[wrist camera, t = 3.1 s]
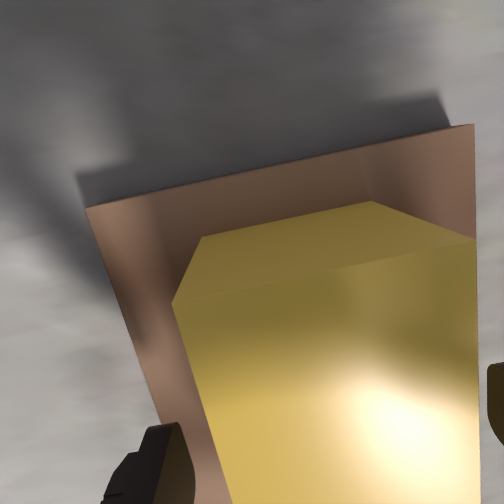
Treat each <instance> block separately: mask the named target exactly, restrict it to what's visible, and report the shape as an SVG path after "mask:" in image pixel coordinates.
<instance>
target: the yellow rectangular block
mask: <svg viewBox="0 0 504 504" xmlns="http://www.w3.org/2000/svg"><path fill="white" fill-rule="evenodd" d="M171 304H172V307H173V310H174V314H175V317H176V320H177V323H178V327H179V330H180V333H181V336H182V340H183V343H184V346H185V349H186V353H187V356H188V359H189V362H190V366H191V369H192V372H193V376H194V379H195V382H196V385H197V389H198V392H199V395H200V398H201V402H202V405H203V408H204V411H205V415H206V418H207V421H208V424H209V428H210V431H211V434H212V437H213V441H214V444H215V447H216V450H217V454H218V457H219V460H220V463H221V467H222V470H223V473H224V476H225V480H226V483H227V486H228V489H229V493H230V496H231V499H232V503H233V504H481V494H480V438H479V381H478V324H477V268H476V240H475V239H472V238H470V237H467V236H464V235H462V234H459V233H456V232H453V231H451V230H448V229H445V228H443V227H440V226H437V225H435V224H432V223H429V222H427V221H424V220H421V219H419V218H416V217H413V216H411V215H408V214H405V213H403V212H400V211H397V210H395V209H392V208H389V207H387V206H384V205H381V204H378V203H376V202H373V201H368V202H363V203H358V204H354V205H349V206H344V207H340V208H335V209H330V210H326V211H321V212H316V213H312V214H307V215H302V216H298V217H293V218H288V219H283V220H279V221H274V222H269V223H265V224H260V225H255V226H251V227H246V228H241V229H237V230H232V231H227V232H223V233H218V234H213V235H209V236H204V237H201V240H200V242H199V244H198V246H197V248H196V251H195V253H194V255H193V257H192V259H191V262H190V264H189V266H188V268H187V270H186V272H185V275H184V277H183V279H182V281H181V283H180V286H179V288H178V290H177V292H176V294H175V297H174V299H173V301H172V303H171Z"/></svg>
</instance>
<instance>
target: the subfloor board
mask: <svg viewBox="0 0 504 504" xmlns="http://www.w3.org/2000/svg"><path fill="white" fill-rule="evenodd" d="M368 201H373V202H376V203H378V204H381V205H384V206H387V207H389V208H392V209H395V210H397V211H400V212H403V213H405V214H408V215H411V216H413V217H416V218H419V219H421V220H424V221H427V222H429V223H432V224H435V225H437V226H440V227H443V228H445V229H448V230H451V231H453V232H456V233H459V234H462V235H464V236H467V237H470V238H472V239H475V240H476V194H475V136H474V124H466V125H458V126H451V127H446V128H442V129H437V130H433V131H428V132H423V133H419V134H414V135H410V136H405V137H401V138H396V139H391V140H387V141H382V142H378V143H373V144H368V145H364V146H359V147H355V148H350V149H346V150H341V151H336V152H332V153H327V154H323V155H318V156H314V157H309V158H304V159H300V160H295V161H291V162H286V163H281V164H277V165H272V166H268V167H263V168H259V169H254V170H249V171H245V172H240V173H236V174H231V175H226V176H222V177H217V178H213V179H208V180H204V181H199V182H194V183H190V184H185V185H181V186H176V187H171V188H167V189H162V190H158V191H153V192H149V193H144V194H139V195H135V196H130V197H126V198H121V199H117V200H112V201H107V202H103V203H98V204H96V205H93V206H90V207H87V208H85V211H86V214H87V217H88V219H89V222H90V225H91V228H92V231H93V233H94V236H95V239H96V242H97V245H98V247H99V250H100V253H101V256H102V259H103V261H104V264H105V267H106V270H107V273H108V275H109V278H110V281H111V284H112V287H113V289H114V292H115V295H116V298H117V301H118V303H119V306H120V309H121V312H122V315H123V317H124V320H125V323H126V326H127V329H128V331H129V334H130V337H131V340H132V343H133V345H134V348H135V351H136V354H137V357H138V359H139V362H140V365H141V368H142V371H143V373H144V376H145V379H146V382H147V385H148V387H149V390H150V393H151V396H152V399H153V401H154V404H155V407H156V410H157V413H158V415H159V418H160V421H161V424H167V423H172V422H178V423H179V424H180V426H181V428H182V432H183V435H184V438H185V441H186V444H187V447H188V450H189V453H190V456H191V460H192V463H193V466H194V471H195V480H196V490H195V499H194V504H233V503H232V499H231V496H230V493H229V489H228V486H227V483H226V480H225V476H224V473H223V470H222V467H221V463H220V460H219V457H218V454H217V450H216V447H215V444H214V441H213V437H212V434H211V431H210V428H209V424H208V421H207V418H206V415H205V411H204V408H203V405H202V402H201V398H200V395H199V392H198V389H197V385H196V382H195V379H194V376H193V372H192V369H191V366H190V362H189V359H188V356H187V353H186V349H185V346H184V343H183V340H182V336H181V333H180V330H179V327H178V323H177V320H176V317H175V314H174V310H173V307H172V304H171V303H172V301H173V299H174V297H175V294H176V292H177V290H178V288H179V286H180V283H181V281H182V279H183V277H184V275H185V272H186V270H187V268H188V266H189V264H190V262H191V259H192V257H193V255H194V253H195V251H196V248H197V246H198V244H199V242H200V240H201V237H204V236H209V235H213V234H218V233H223V232H227V231H232V230H237V229H241V228H246V227H251V226H255V225H260V224H265V223H269V222H274V221H279V220H283V219H288V218H293V217H298V216H302V215H307V214H312V213H316V212H321V211H326V210H330V209H335V208H340V207H344V206H349V205H354V204H358V203H363V202H368ZM476 268H477V251H476ZM477 324H478V309H477ZM478 381H479V366H478ZM479 438H480V424H479ZM480 494H481V481H480Z"/></svg>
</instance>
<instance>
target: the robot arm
mask: <svg viewBox="0 0 504 504" xmlns="http://www.w3.org/2000/svg"><path fill="white" fill-rule="evenodd" d="M487 413H488V419H489V422H490V425H491V427H492V429H493V431H494V433H495V435H496V436H497V438H498V439H499V441H500V442H501V443H502V444H503V445H504V362H501V363H496V364H491V365H490V366H489V367H488V369H487ZM195 490H196V480H195V471H194V466H193V463H192V460H191V456H190V453H189V450H188V447H187V444H186V441H185V438H184V435H183V432H182V428H181V426H180V424H179V423H178V422H172V423H167V424H162V425H156V426H151V427H148V428H147V430H146V432H145V435H144V437H143V440H142V443H141V446H140V449H139V451H138V452H133V453H128V455H127V456H126V457H125V458H124V460H123V461H122V462H121V464H120V465H119V466H118V467H117V469H116V470H115V471H114V473H113V474H112V477H111V479H110V481H109V484H108V486H107V489H106V491H105V494H104V499H103V501H101V503H100V504H194V499H195Z"/></svg>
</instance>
